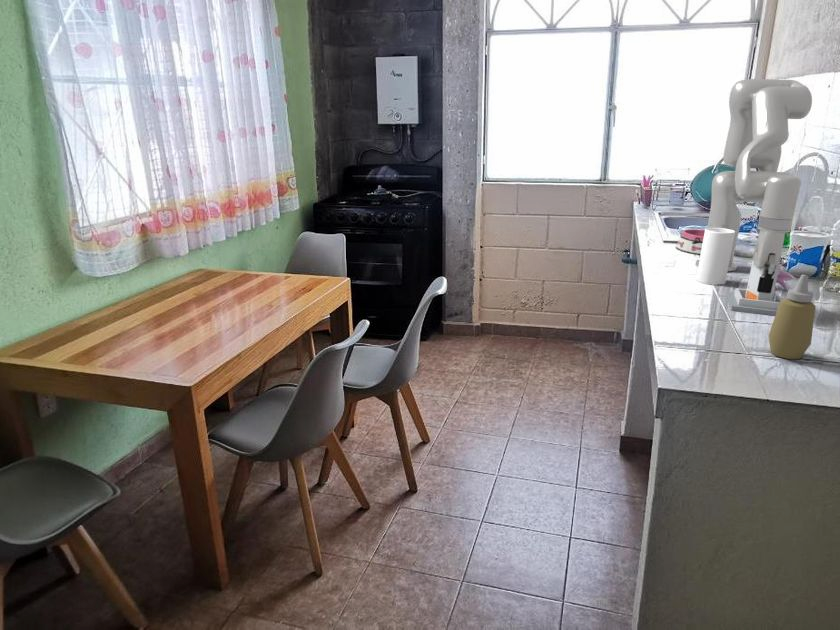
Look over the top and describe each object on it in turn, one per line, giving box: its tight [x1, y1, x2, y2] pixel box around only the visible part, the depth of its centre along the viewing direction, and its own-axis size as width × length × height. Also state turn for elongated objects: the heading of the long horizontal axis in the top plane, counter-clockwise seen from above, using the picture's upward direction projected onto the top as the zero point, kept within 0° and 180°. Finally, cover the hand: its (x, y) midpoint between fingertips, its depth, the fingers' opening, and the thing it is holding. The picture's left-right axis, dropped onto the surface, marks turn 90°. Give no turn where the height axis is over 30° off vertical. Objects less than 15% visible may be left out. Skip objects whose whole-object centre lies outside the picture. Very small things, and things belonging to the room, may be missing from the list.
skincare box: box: [745, 261, 781, 302], centre depth 163 cm, size 6×4×12 cm
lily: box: [776, 263, 797, 291], centre depth 180 cm, size 12×12×10 cm
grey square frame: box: [725, 287, 784, 317], centre depth 164 cm, size 14×14×3 cm
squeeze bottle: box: [768, 274, 816, 360], centre depth 129 cm, size 8×8×18 cm
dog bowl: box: [675, 228, 705, 256], centre depth 227 cm, size 18×19×7 cm
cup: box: [695, 227, 735, 286], centre depth 185 cm, size 8×8×16 cm
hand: (760, 287), depth 163 cm, fingers open, 9 cm apart
